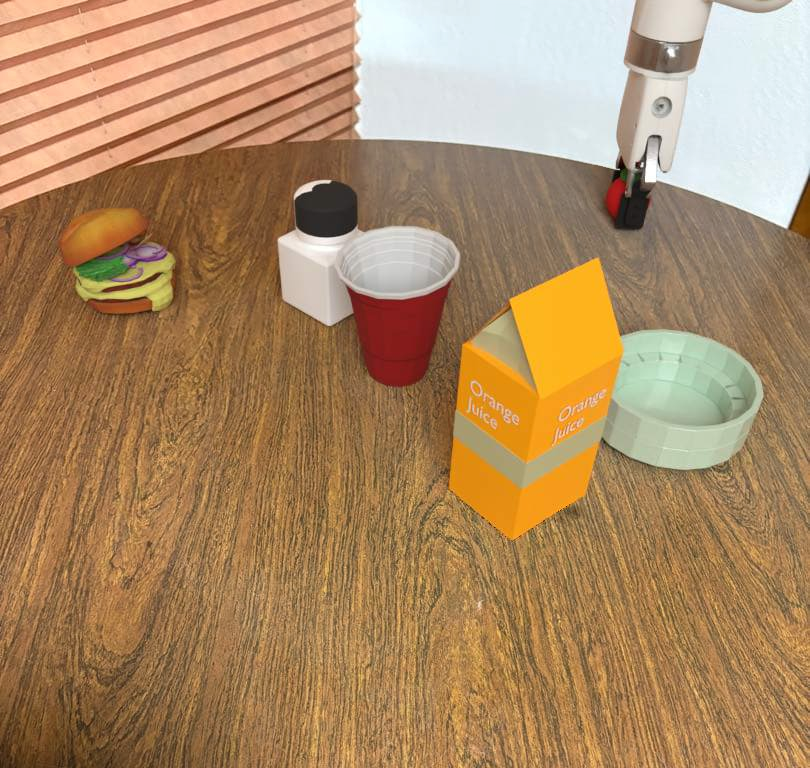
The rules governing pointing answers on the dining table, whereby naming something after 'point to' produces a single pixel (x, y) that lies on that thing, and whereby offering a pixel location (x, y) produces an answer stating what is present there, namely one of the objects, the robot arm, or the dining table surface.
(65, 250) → the cheeseburger
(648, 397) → the bowl
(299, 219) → the medicine bottle
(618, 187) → the red tomato
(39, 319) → the dining table surface
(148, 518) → the dining table surface
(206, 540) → the dining table surface
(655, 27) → the robot arm
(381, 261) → the plastic cup
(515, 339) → the orange juice
